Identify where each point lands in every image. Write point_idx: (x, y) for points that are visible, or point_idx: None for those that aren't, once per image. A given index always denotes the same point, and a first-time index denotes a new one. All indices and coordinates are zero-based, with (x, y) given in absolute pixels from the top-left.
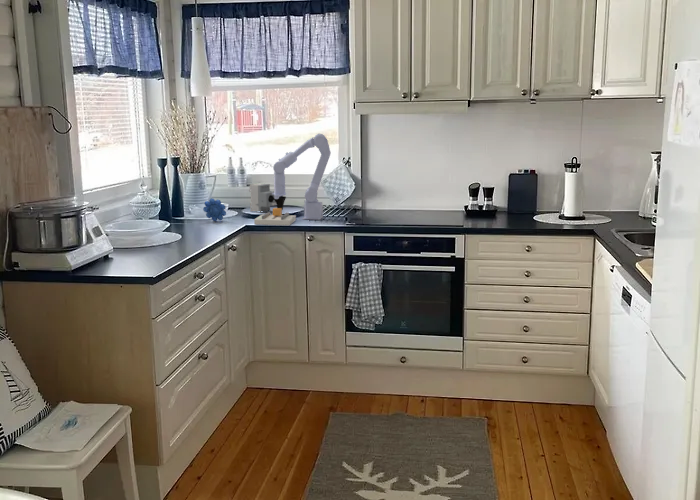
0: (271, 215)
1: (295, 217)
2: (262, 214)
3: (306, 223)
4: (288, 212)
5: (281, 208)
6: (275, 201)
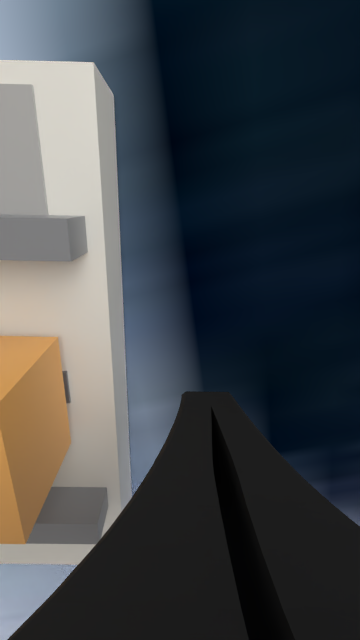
0: (30, 290)
1: None
2: (78, 76)
3: (8, 601)
4: (98, 540)
5: (9, 538)
6: (80, 566)
